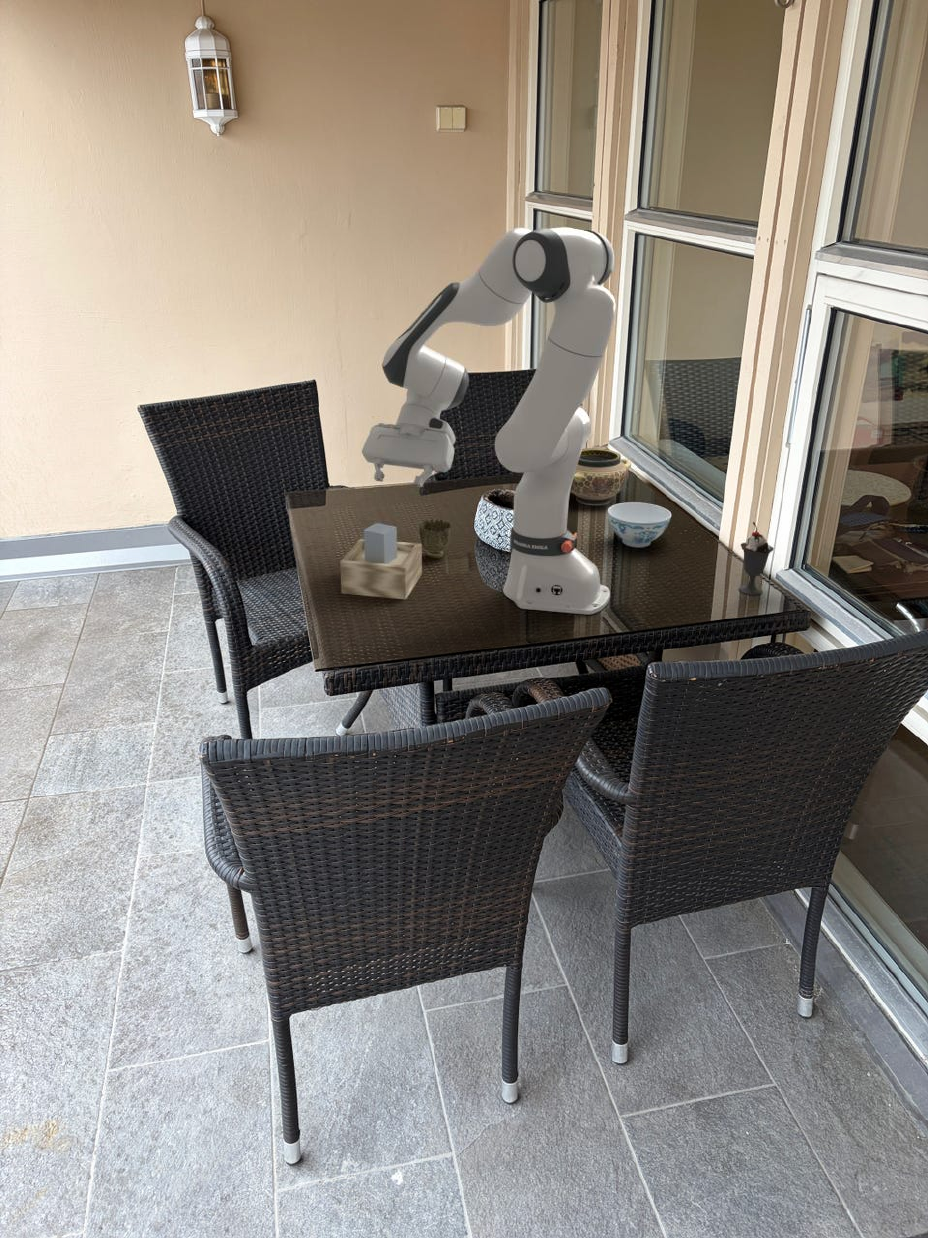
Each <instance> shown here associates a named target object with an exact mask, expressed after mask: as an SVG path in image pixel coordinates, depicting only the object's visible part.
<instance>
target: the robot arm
mask: <svg viewBox="0 0 928 1238" xmlns="http://www.w3.org/2000/svg"><path fill="white" fill-rule="evenodd" d="M614 266H615V251H614V249H613V246H612V244H611V242H610V241H609V240H608V238H607V237H605V236H604V235H602V234H601V233H599V232H597V231H594V230H590V229H578V228H577V229H576V228H572V227H567V226H565V227H563V226H562V227H552V228H547V227H542V228H538V229H534V230H531V229H529V228H525V227H515V228H511V229H510V230H508V231H507V232H506V233H505V234H504V235H502V237H501V238H500V239H499V240H498V242H496V244H495V245H494V247H492V249H491V250H490V251H489V253H488V254H487V256H486V257H485V258H484V260H483V261H482V263H481V265H480V266H479V267H478V269H477V271H475V273H473V274H472V276H470V277H468V278H466V279H465V280H462V281H459V282H450V283H449V284H448V285H447V286H446V287H444V288H443V289H442V290H441V291H440V292H439V293H438V294H437V296H435V298H434V299H433V300H432V301H431V302H430V303H429V304H428V305H427V306H426V307H425V309H424V310H423V311H422V312H421V313H420V315H418V317H417V318H416V319H415V320H414V321H413V322H412V323H411V325H409V327H408V328H407V329H406V330H404V332H403V333H402V334H401V335H400V336H398V338H397V339H396V340H394V341H393V342H392V344H390V346H389V347H388V349H387V350H386V352H385V354H384V357H383V361H382V363H381V367H382V370H383V373H384V376H385V378H386V379H387V381H388V383H389V384H392V385H394V386H397V387H400V388H403V389H406V391H407V392H406V399H405V402H404V403H403V405H401V408H400V412H399V414H398V417H397V420H396V423H395V424H393V423H390V424H389V423H383V422H380V423H378V424H376V425H374V426H372V427H371V428H370V431H369V435H368V436H367V438H366V439H365V440H366V441H365V443H364V444H363V447H362V448H361V453H362V456H363V457H364V459H365V460H366V462H367V463H369V464H370V463H372V464H374V468H375V472H374V475H373V479H374V481H376V482H380V483H381V482H384V479H385V474H384V472H383V471H382V470H381V469H382V468H384V465H385V466H386V465H387V466H393V467H394V466H395V467H401V468H410V469H418V470H423V471H422V473H421V474H420V475H415V477H414V480H413V484H414V485H415V487H417V488H418V487H419V488H422V487H424V483H425V481H426V480H428V479H429V478H430V476H432V475H433V471H434V472H442V473H446V472H448V471H449V470H450V469H451V468H452V464H453V461H454V455H455V447H454V444H455V443H456V436H455V433H454V431H453V429H452V428H451V426H450V424H449V423H448V422H447V421H445V420H443V419H440V418H441V417H440V416H441V413H442V411H448V410H451V409H453V408H455V407H457V406H459V405H460V404H461V403H462V402H463V401H464V398H465V395H466V392H467V390H468V386H469V383H470V377H469V373H468V371H467V370H468V369H467V368H466V366H464V365H463V364H462V363H460V362H457V361H456V360H454V359H452V358H450V357H448V356H446V355H445V354H444V355H443V354H442V353H439V352H438V351H436V350H434V349H432V348H430V347H429V346H428V347H427V345H425V344H427V343H428V341H429V340H430V339H431V338H432V337H433V336H434V335H435V334H436V333H437V331H439V329H440V328H441V327H443V326H444V325H446V324H449V323H466V324H472V325H476V326H477V325H478V326H482V327H483V326H484V327H497V326H500V325H504V324H506V323H509V322H510V321H512V319H514V318H515V317H516V316H517V315H518V314H519V312H520V311H521V309H522V308H523V307H524V305H525V304H526V303H527V301H528V299H529V298H530V297H531V294H532V293H533V294H534V295H535V296H536V297H537V298H538V299H539V300H540V302H542V303H546V304H547V303H553V304H554V305H553V306H554V316H553V319H552V323H551V326H550V328H549V330H548V331H549V332H548V333H547V336H546V340H545V343H544V346H543V351H541V352H542V353H541V356H540V358H539V362H538V365H537V367H536V370H535V372H534V374H533V377H532V379H531V381H530V382H529V385H527V388H526V390H525V391H524V394H523V395H522V397H521V399H520V401H519V403H518V404H517V405H516V408H515V409H514V412H513V413H512V414H511V416H510V418H509V419H508V420H507V421H506V423H505V424H504V425H503V426H502V427H501V429H499V431H498V432H497V434H496V436H495V440H494V451H495V454H496V457H497V459H498V461H499V463H500V464H501V466H503V467H504V468H505V469H506V470H508V471H510V472H513V473H523V475H522V477H521V480H519V483H518V485H517V486H516V488H515V491H514V495H513V520H512V521H513V523H512V527H511V528H510V536H509V548H510V549H509V552H510V554H511V555H510V560H509V561H510V562H509V567H508V573H507V576H506V581H505V583H504V587H503V589H502V591H503V594H504V595H505V596H506V597H507V598H509V599H510V600H512V601H513V602H514V603H515V604H516V606H517V607H518V608H520V609H523V610H534V611H535V610H536V611H545V612H553V613H555V612H557V613H564V614H565V613H567V614H578V615H594V614H597V613H598V612H600V611H602V610H603V609H604V608H605V607H606V606H607V605H608V603H609V602H610V600H611V591H610V588H608V586H606V585H603V584H601V579H600V571H599V569H598V567H597V565H596V564H595V563H593V562H592V561H591V560H590V559H588V558H587V557H586V556H585V555H584V554H583V553H582V552H580V551H579V550H578V549H577V548H576V540H577V537H578V536H577V534H578V532H574V534H572V532H571V531H570V530H569V529H568V528H567V526H568V514H569V503H570V502H569V501H570V494H571V492H570V490H571V485H572V482H573V478H574V474H575V471H576V468H577V464H578V461H579V457H580V454H581V452H582V449H584V447H585V446H586V443H587V442H588V440H589V439H590V435H591V432H592V423H591V421H590V417H589V416H588V414H587V412H586V411H585V410H584V409H583V408H582V407H581V405H582V404H583V402H584V401H585V399H587V398H588V396H589V395H590V393H591V390H592V388H593V386H594V383H595V380H596V379H597V376H598V372H599V369H600V366H601V364H602V362H603V358H604V356H605V352H606V350H607V347H608V344H609V340H610V337H611V334H612V330H613V325H614V319H615V313H616V308H617V307H616V306H617V305H616V300H615V297H614V296H613V295H612V293H611V291H609V290H608V289H607V288H606V287H604V286H602V285H603V284H604V283H605V282H606V281H607V280H608V279H609V277H610V276H611V274H612V273H613V270H614Z"/></svg>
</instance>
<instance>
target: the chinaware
mask: <svg viewBox="0 0 928 1238" xmlns="http://www.w3.org/2000/svg"><path fill="white" fill-rule="evenodd" d="M607 517H608V521H609V525H610V526H611V529H612V530H613V531H612V532H614V533H615V534H616V536H618V537H619V538H620V539H621V540H622V541H621V542H622V543H623V545H626V546H628V547H632V548H645V547H648V546H650V545H651V542H653V541H655V540H657V539H658V538H659V537H660V536H661V535H662V534H663V533H664V532H665V530H666V529H667V527H668V525H669V523H670V521H671V517H672V513H671V511H670V510H668V509H667V508H665V507H663V506H662V505H661V506H660V505H657V504H653V503H650V502H649V503H648V502H639V501H638V502H636V501H631V502H622V503H621V502H620V503H616V504H613V505H611V506H609V507H608V508H607Z"/></svg>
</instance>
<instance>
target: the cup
mask: <svg viewBox="0 0 928 1238" xmlns="http://www.w3.org/2000/svg"><path fill="white" fill-rule="evenodd" d="M418 529H419V537H420V544H422V549H424V550H425V551H427V552H426V554H427V557H428V558H430V559H436V560H437V559H440V558H442V557H443V555H444V551H445V550H447V548H448V547H449V544H450V540H451V531H452V523H451V521H447V520H445V521H443V519H438V518H437V519H435V521H434V519H430V520H427V519H424V520H423V521H420V523H419V525H418Z"/></svg>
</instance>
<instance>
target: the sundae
mask: <svg viewBox="0 0 928 1238" xmlns="http://www.w3.org/2000/svg"><path fill="white" fill-rule="evenodd" d="M752 524H753V526H754V527H755V531H753V532H752V534H751V536H750V537H749V538H748V539H747V540H746V542H742V543H741V544H740V547H741V550H742V551H743V568H744V569H743V570H744V572H746V574H747V575H748V576H749V580H748V583H747V585H742V586H739V587H738V591H739V592H740V593H741V594H744V595H747V596H759V595H762V594H763V590H762V589H761V588H760V587H758V586H756V584H755V583H756V577H758V576H760V575H761V574H762V573H764V570H765V568H766V565H767V562H768V559H769V556H770V553H772V552H773V551H774V549H775V548H774V547H773V546H771V545H770V544H769V543H768V542H767V540H766V537H765V536H764V535H763V534H760V532H759V531H758V527H757V525H756V522H754V521H753V522H752Z"/></svg>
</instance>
